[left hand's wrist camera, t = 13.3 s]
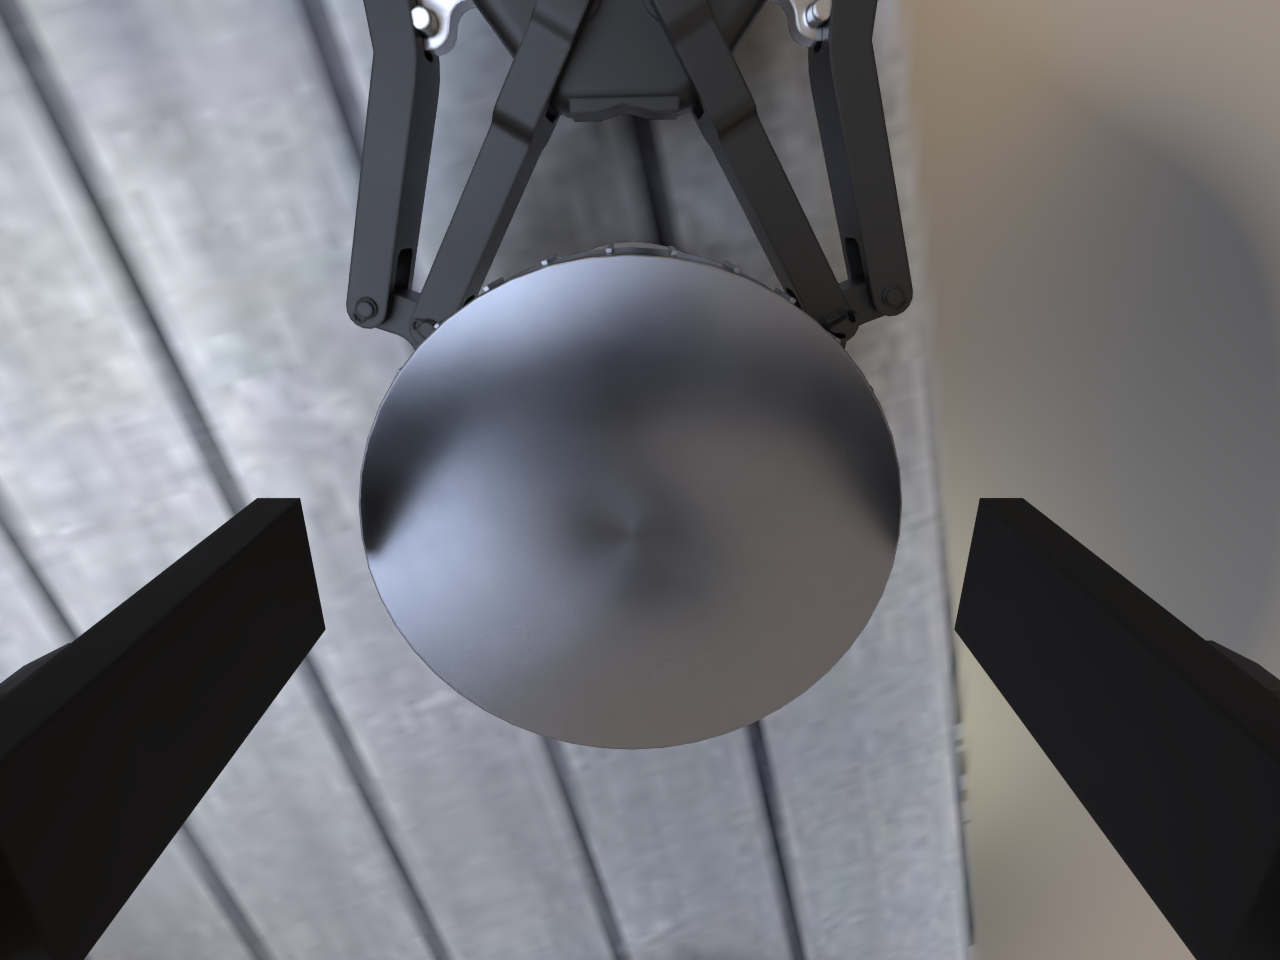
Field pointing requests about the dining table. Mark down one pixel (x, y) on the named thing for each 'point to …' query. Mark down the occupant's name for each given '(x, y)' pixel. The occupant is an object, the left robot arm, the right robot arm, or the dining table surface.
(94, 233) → the dining table surface
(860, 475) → the lid
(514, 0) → the right robot arm
